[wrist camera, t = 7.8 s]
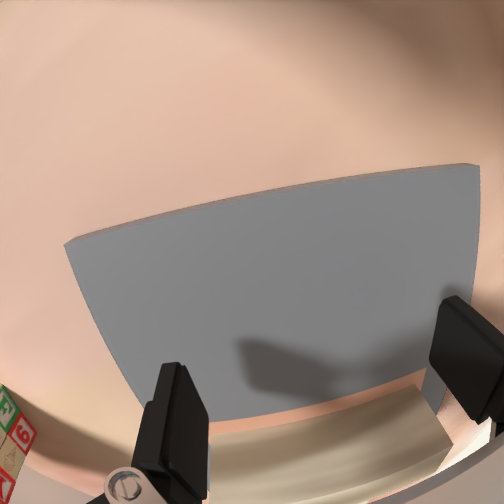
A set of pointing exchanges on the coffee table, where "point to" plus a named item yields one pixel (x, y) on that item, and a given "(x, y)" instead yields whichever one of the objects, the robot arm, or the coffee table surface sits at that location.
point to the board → (288, 292)
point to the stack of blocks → (12, 443)
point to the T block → (331, 455)
